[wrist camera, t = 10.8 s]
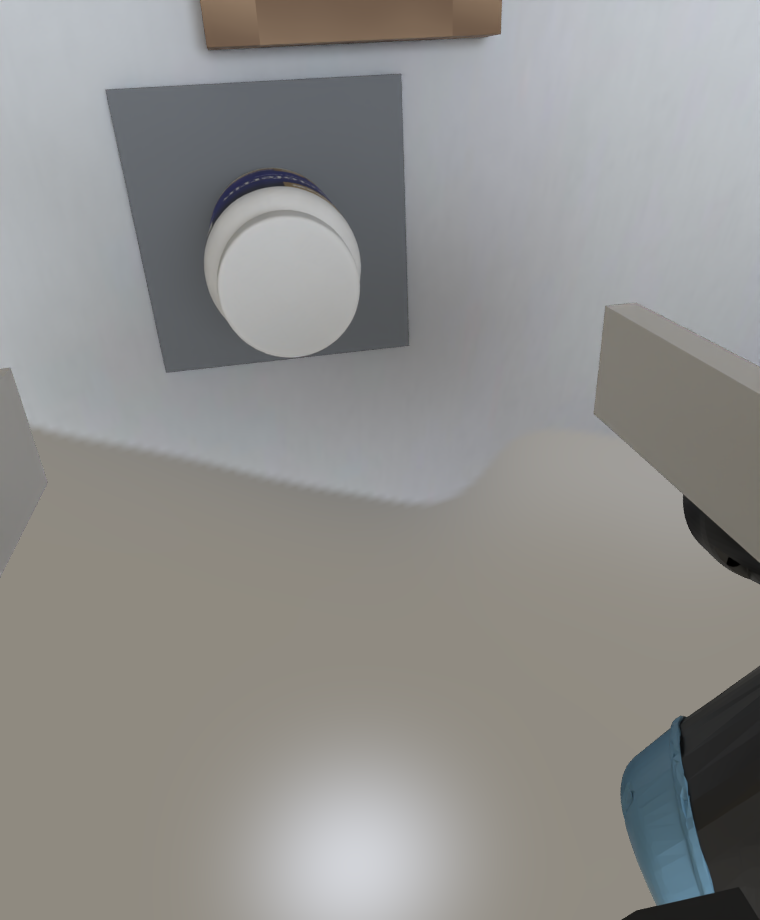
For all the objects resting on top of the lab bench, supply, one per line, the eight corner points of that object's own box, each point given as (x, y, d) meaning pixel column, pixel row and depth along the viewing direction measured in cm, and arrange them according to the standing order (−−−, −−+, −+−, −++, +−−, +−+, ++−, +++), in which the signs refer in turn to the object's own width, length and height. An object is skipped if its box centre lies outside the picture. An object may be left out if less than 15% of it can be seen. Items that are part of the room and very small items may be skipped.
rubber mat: (406, 342, 35) (408, 345, 35) (166, 369, 33) (166, 372, 33) (398, 73, 29) (401, 73, 29) (107, 89, 28) (105, 89, 27)
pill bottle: (334, 163, 30) (377, 196, 21) (339, 293, 33) (378, 367, 24) (200, 167, 29) (188, 202, 20) (217, 300, 32) (212, 380, 23)
